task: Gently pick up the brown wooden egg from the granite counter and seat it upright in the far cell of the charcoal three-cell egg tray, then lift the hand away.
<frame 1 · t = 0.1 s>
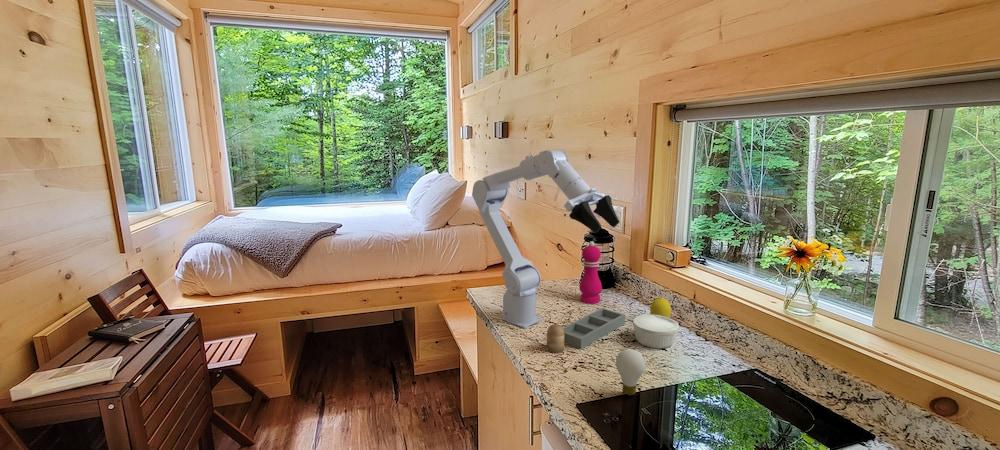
hand: (607, 227, 107), 32 cm above the counter, tool tilted 50°, fingers open, 7 cm apart
lemon: (659, 324, 129), on the counter
ramekin: (654, 341, 119), on the counter
tray: (592, 331, 125), on the counter
light bulb: (629, 395, 95), on the counter
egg: (555, 349, 115), on the counter
pepper mill: (590, 301, 148), on the counter
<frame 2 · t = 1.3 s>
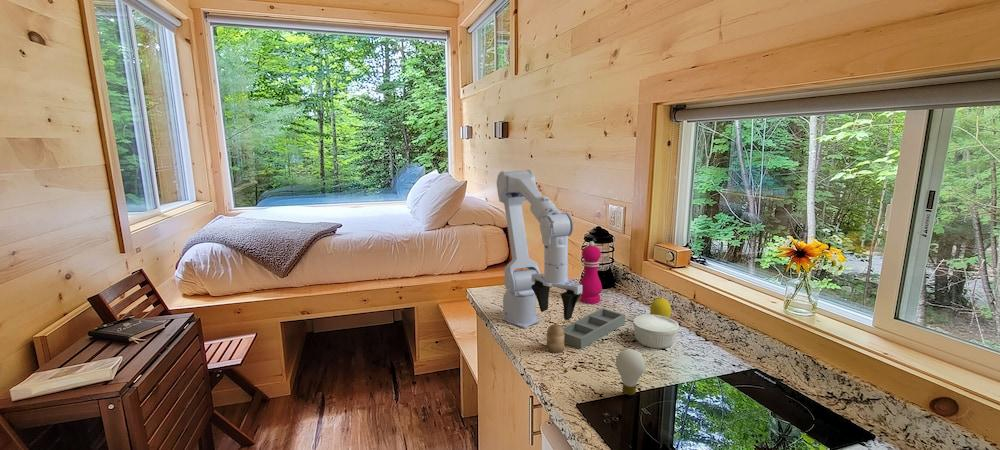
hand: (555, 314, 113), 9 cm above the counter, tool pointing down, fingers open, 7 cm apart
nothing on the counter moved.
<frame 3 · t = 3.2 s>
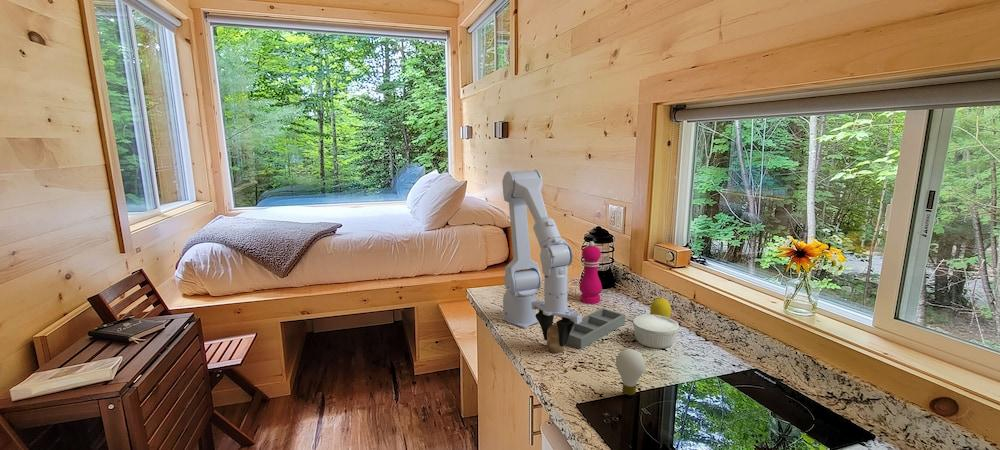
hand: (555, 342, 115), 2 cm above the counter, tool pointing down, fingers closed on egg, 4 cm apart
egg: (555, 349, 115), on the counter, touching gripper
everything else where it was.
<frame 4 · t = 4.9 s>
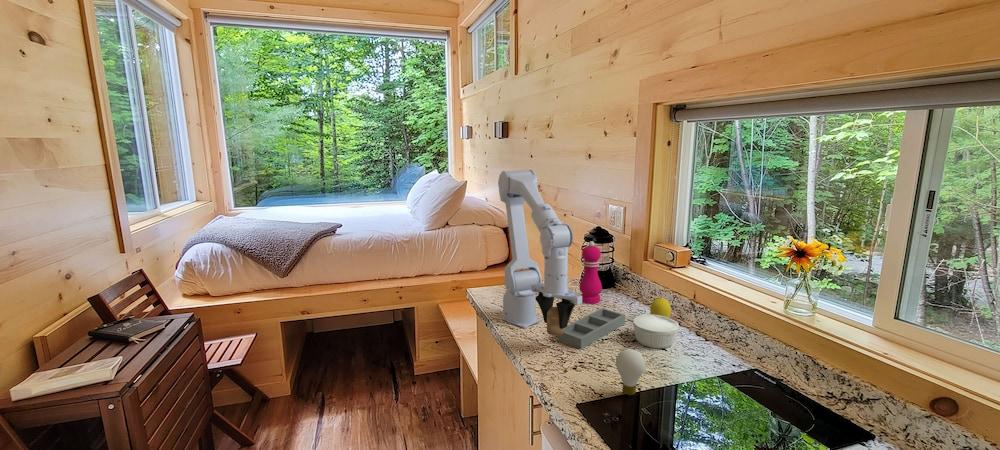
hand: (555, 324, 114), 7 cm above the counter, tool pointing down, fingers closed on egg, 4 cm apart
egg: (555, 331, 114), point 5 cm above the counter, touching gripper
everything else where it was.
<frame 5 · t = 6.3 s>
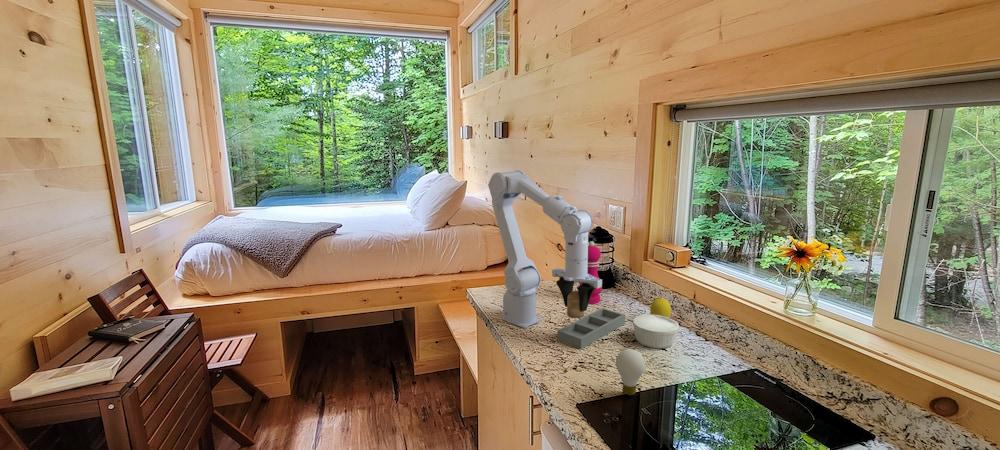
hand: (575, 307, 119), 9 cm above the counter, tool pointing down, fingers closed on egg, 4 cm apart
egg: (575, 314, 119), point 7 cm above the counter, touching gripper
everything else where it was.
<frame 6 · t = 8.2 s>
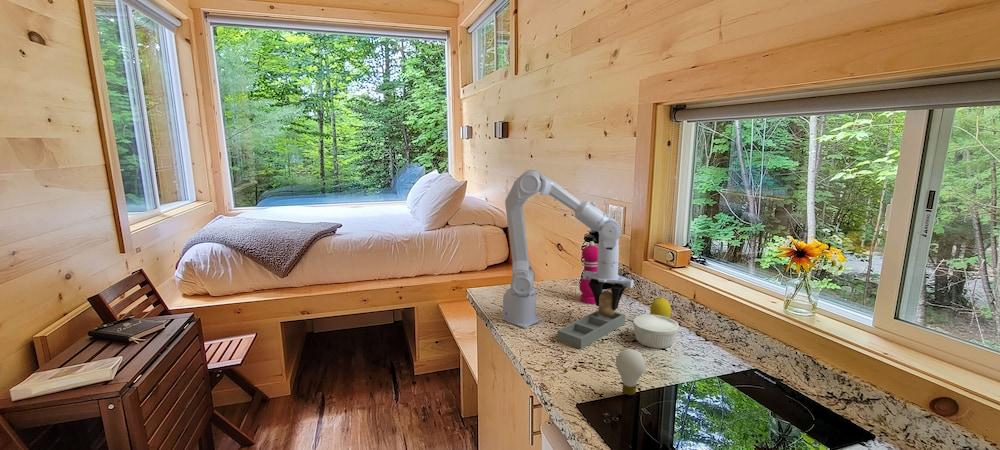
hand: (606, 307, 128), 5 cm above the counter, tool pointing down, fingers closed on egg, 4 cm apart
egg: (606, 313, 129), point 3 cm above the counter, touching gripper
everything else where it was.
when the fingers open (4 cm above the counter, at t = 9.7 s): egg drops 1 cm, resting on tray.
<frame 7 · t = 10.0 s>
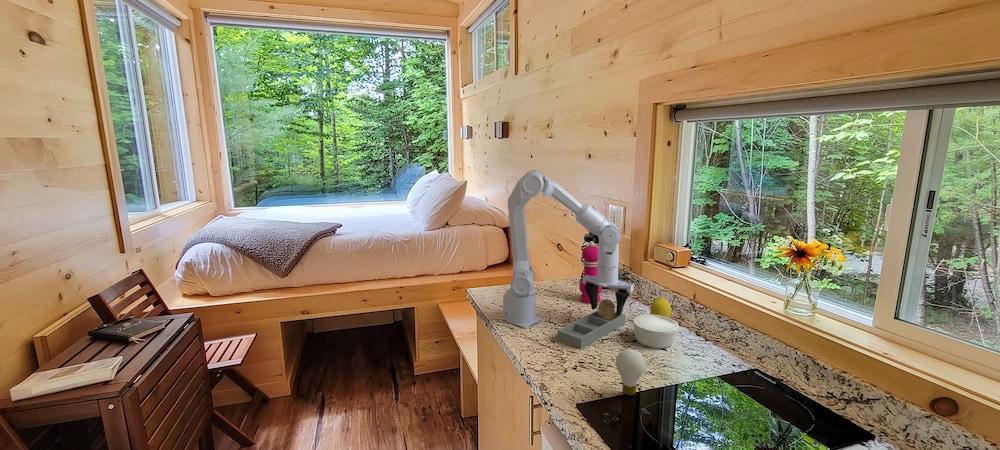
hand: (606, 311, 129), 4 cm above the counter, tool pointing down, fingers open, 7 cm apart
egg: (606, 321, 129), point 1 cm above the counter, touching tray
everything else where it was.
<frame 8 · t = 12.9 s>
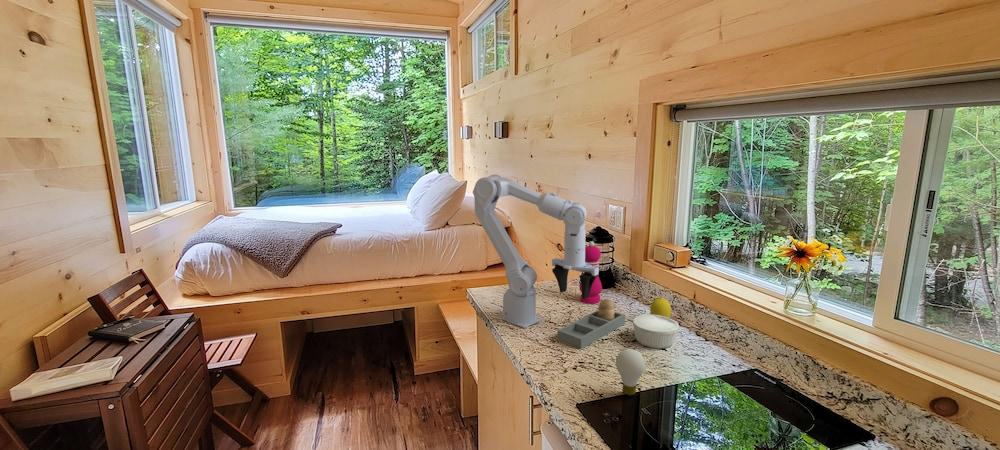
hand: (574, 294, 127), 9 cm above the counter, tool pointing down, fingers open, 7 cm apart
nothing on the counter moved.
at the end: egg 0.0 cm from the target spot on the tray, point 0.8 cm above the tray's base; the gripper is holding nothing; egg tilted 0° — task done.
